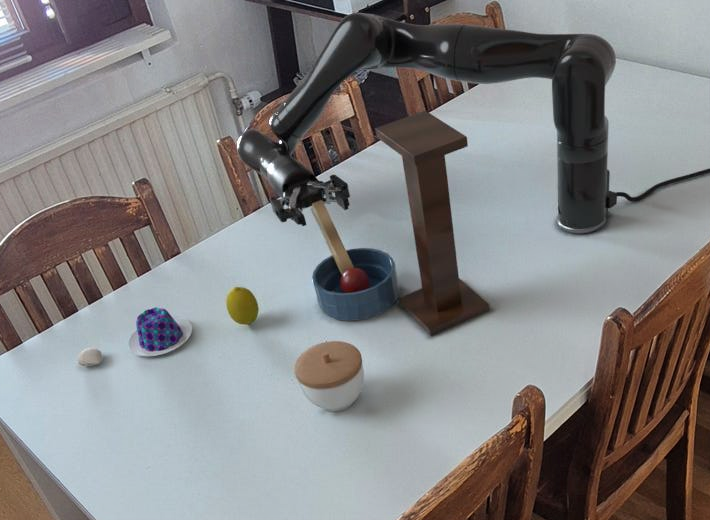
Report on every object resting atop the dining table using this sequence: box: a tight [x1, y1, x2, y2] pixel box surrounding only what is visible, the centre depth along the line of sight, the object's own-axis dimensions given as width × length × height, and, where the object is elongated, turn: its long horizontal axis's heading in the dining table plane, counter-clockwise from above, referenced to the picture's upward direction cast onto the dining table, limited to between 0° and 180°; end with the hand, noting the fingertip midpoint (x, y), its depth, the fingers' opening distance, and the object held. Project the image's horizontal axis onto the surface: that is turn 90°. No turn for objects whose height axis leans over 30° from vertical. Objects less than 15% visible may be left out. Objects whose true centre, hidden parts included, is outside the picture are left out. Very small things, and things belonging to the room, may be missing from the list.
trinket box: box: [293, 340, 365, 412], centre depth 129 cm, size 11×11×9 cm
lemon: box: [225, 286, 259, 326], centre depth 148 cm, size 6×6×8 cm
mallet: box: [310, 200, 370, 293], centre depth 149 cm, size 19×5×5 cm
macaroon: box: [76, 347, 103, 367], centre depth 147 cm, size 4×5×2 cm
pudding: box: [127, 307, 193, 357], centre depth 149 cm, size 12×12×5 cm
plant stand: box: [375, 110, 490, 337], centre depth 135 cm, size 13×12×32 cm
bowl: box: [311, 247, 400, 321], centre depth 150 cm, size 15×15×6 cm
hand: (325, 212), depth 148 cm, fingers open, 8 cm apart
